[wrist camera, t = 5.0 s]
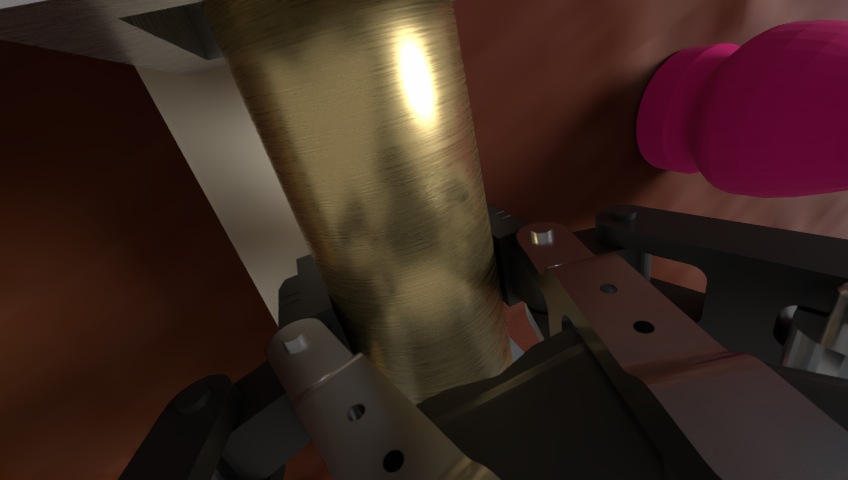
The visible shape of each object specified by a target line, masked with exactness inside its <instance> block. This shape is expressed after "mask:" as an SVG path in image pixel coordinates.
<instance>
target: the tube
mask: <svg viewBox="0 0 848 480" xmlns="http://www.w3.org/2000/svg"><path fill="white" fill-rule="evenodd" d="M200 5H201V7H202V9H203V11H204V14H205V16H206V18H207V20H208V23H209V25H210V27H211V29H212V32H213V34H214V36H215V38H216V41H217V43H218V45H219V47H220V50H221V52H222V54H223V57H224V59H225V61H226V63H227V66H228V68H229V70H230V72H231V75H232V77H233V79H234V81H235V84H236V86H237V88H238V90H239V93H240V95H241V97H242V99H243V102H244V104H245V106H246V108H247V111H248V113H249V115H250V118H251V120H252V122H253V124H254V127H255V129H256V131H257V133H258V136H259V138H260V140H261V142H262V145H263V147H264V149H265V151H266V154H267V156H268V158H269V160H270V163H271V165H272V167H273V169H274V172H275V174H276V176H277V179H278V181H279V183H280V185H281V188H282V190H283V192H284V194H285V197H286V199H287V201H288V203H289V206H290V208H291V210H292V212H293V215H294V217H295V219H296V221H297V224H298V226H299V228H300V230H301V233H302V235H303V237H304V240H305V242H306V244H307V246H308V249H309V251H310V253H311V255H312V258H313V260H314V262H315V264H316V267H317V269H318V271H319V273H320V276H321V278H322V280H323V282H324V285H325V287H326V289H327V291H328V294H329V296H330V298H331V300H332V302H333V305H334V307H335V309H336V312H337V314H338V316H339V318H340V321H341V323H342V325H343V327H344V330H345V332H346V334H347V336H348V339H349V341H350V343H351V345H352V348H353V350H354V352H355V354H357V353H358V352H361V353H363V354H364V355H365V356H366V357H367V358H368V359H369V360H370V361H371V362H372V363H373V364H374V365H375V366H376V367H377V368H378V369H379V370H380V371H381V372H382V373H383V374H384V375H385V376H386V377H387V378H388V379H389V380H390V381H391V382H392V383H393V384H394V385H395V386H396V387H397V388H398V389H399V390H400V391H401V392H402V393H403V394H404V395H405V396H406V397H407V398H408V399H409V400H410V401H411V402H412V403H413V404H414V405H416V404H418V403H420V402H422V401H424V400H426V399H428V398H430V397H432V396H434V395H436V394H438V393H440V392H442V391H444V390H446V389H449V388H453V387H457V386H461V385H465V384H469V383H473V382H477V381H481V380H484V379H488V378H492V377H495V376H498V375H499V374H501V373H502V372H503V371H504V370H506V369H507V368H508V367H509V366H510V365H511V364H512V363H513V358H512V352H511V346H510V340H509V334H508V329H507V323H506V317H505V311H504V305H503V299H502V293H501V287H500V281H499V275H498V269H497V263H496V257H495V251H494V245H493V240H492V234H491V228H490V222H489V216H488V210H487V204H486V198H485V192H484V186H483V180H482V174H481V168H480V162H479V156H478V150H477V145H476V139H475V133H474V127H473V121H472V115H471V109H470V103H469V97H468V91H467V85H466V79H465V73H464V67H463V61H462V56H461V50H460V44H459V38H458V32H457V26H456V20H455V14H454V8H453V2H452V0H207V1H202V2H200Z"/></svg>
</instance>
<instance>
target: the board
mask: <svg viewBox="0 0 848 480" xmlns="http://www.w3.org/2000/svg"><path fill="white" fill-rule="evenodd" d="M134 66H135V65H134ZM135 68H136V70H137V71H138V73H139V75H140V77H141V79H142V81H143V82H144V84H145V86H146V88H147V90H148V91H149V93H150V95H151V97H152V99H153V101H154V102H155V104H156V106H157V108H158V110H159V111H160V113H161V115H162V117H163V119H164V120H165V122H166V124H167V126H168V128H169V130H170V131H171V133H172V135H173V137H174V139H175V140H176V142H177V144H178V146H179V148H180V150H181V151H182V153H183V155H184V157H185V159H186V160H187V162H188V164H189V166H190V168H191V169H192V171H193V173H194V175H195V177H196V179H197V180H198V182H199V184H200V186H201V188H202V189H203V191H204V193H205V195H206V197H207V198H208V200H209V202H210V204H211V206H212V208H213V209H214V211H215V213H216V215H217V217H218V218H219V220H220V222H221V224H222V226H223V228H224V229H225V231H226V233H227V235H228V237H229V238H230V240H231V242H232V244H233V246H234V247H235V249H236V251H237V253H238V255H239V257H240V258H241V260H242V262H243V264H244V266H245V267H246V269H247V271H248V273H249V275H250V277H251V278H252V280H253V282H254V284H255V286H256V287H257V289H258V291H259V293H260V295H261V296H262V298H263V300H264V302H265V304H266V306H267V307H268V309H269V311H270V313H271V315H272V316H273V318H274V320H275V322H276V324H277V325H278V309H279V307H278V301H279V300H278V290H279V288H280V287H281V285H282V283H283V282H284V280H285V279H287V278H290V277H293V276H295V275H298V273H297V263H296V259H298V258H301V257H303V256H306V255H309V254H311V253H310V251H309V249H308V246H307V244H306V242H305V240H304V237H303V235H302V233H301V230H300V228H299V226H298V224H297V221H296V219H295V217H294V215H293V212H292V210H291V208H290V206H289V203H288V201H287V199H286V197H285V194H284V192H283V190H282V188H281V185H280V183H279V181H278V179H277V176H276V174H275V172H274V169H273V167H272V165H271V163H270V160H269V158H268V156H267V154H266V151H265V149H264V147H263V145H262V142H261V140H260V138H259V136H258V133H257V131H256V129H255V127H254V124H253V122H252V120H251V118H250V115H249V113H248V111H247V108H246V106H245V104H244V102H243V99H242V97H241V95H240V93H239V90H238V88H237V86H236V84H235V81H234V79H233V77H232V75H231V72H230V70H229V68H228V67H224V68H220V69H216V70H212V71H207V72H203V73H199V74H195V75H191V76H186V75H181V74H176V73H171V72H166V71H160V70H155V69H150V68H145V67H140V66H135Z"/></svg>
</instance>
